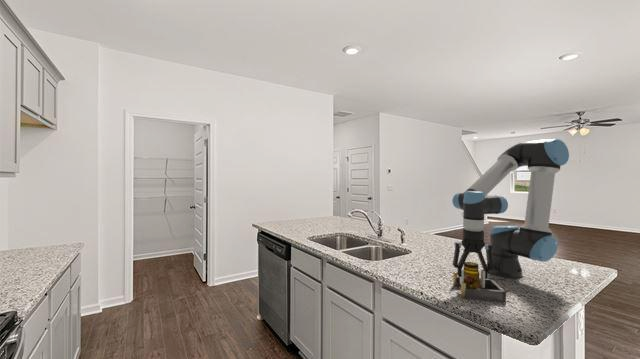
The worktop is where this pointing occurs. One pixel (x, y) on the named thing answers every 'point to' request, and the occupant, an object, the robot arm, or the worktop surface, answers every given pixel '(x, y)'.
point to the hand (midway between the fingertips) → (472, 285)
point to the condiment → (471, 275)
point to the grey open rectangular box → (481, 290)
